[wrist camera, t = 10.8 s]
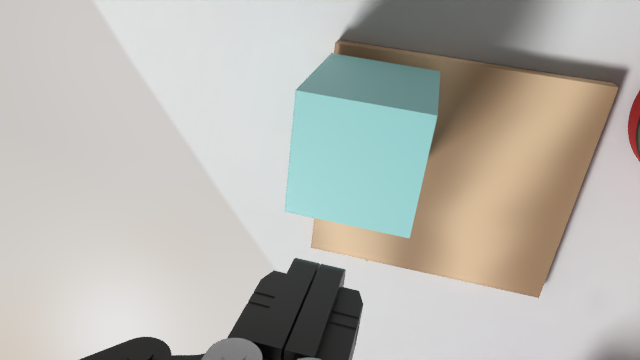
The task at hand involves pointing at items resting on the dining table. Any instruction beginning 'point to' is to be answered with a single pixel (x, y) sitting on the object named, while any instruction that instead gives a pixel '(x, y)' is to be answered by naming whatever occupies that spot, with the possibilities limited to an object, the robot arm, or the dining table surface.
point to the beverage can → (635, 126)
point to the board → (488, 172)
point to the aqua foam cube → (362, 143)
